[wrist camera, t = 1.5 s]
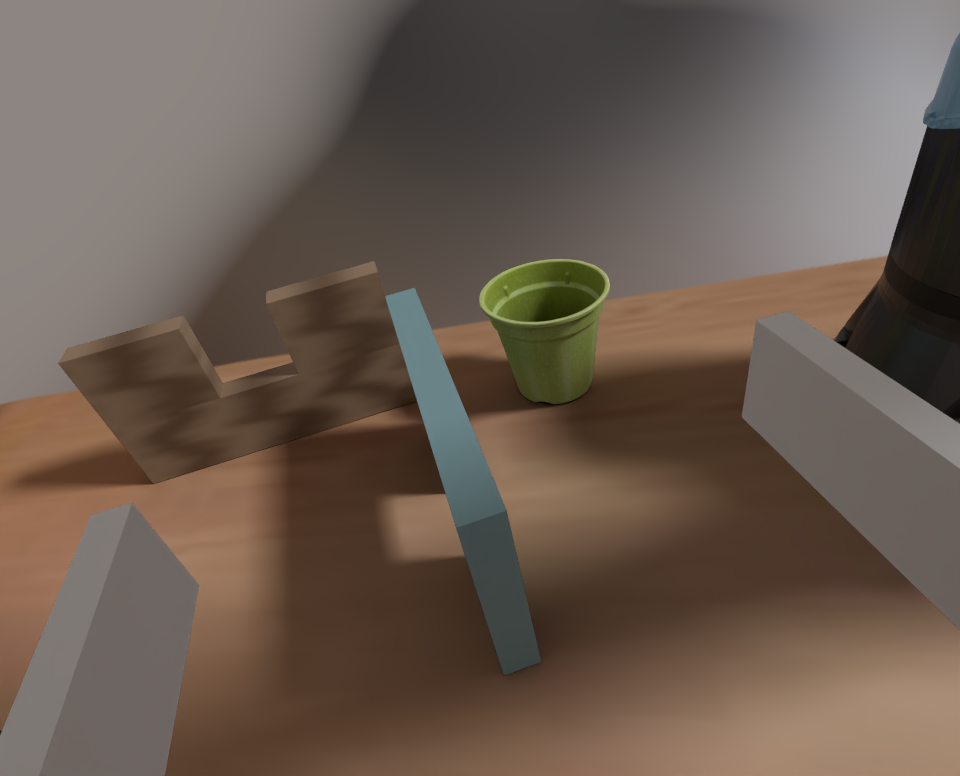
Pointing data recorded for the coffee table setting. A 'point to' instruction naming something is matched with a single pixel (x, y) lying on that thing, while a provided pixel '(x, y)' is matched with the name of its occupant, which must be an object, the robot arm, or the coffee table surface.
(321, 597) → the coffee table surface
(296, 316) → the walnut board
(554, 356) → the plant pot
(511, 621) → the slotted plate
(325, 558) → the coffee table surface
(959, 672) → the coffee table surface
